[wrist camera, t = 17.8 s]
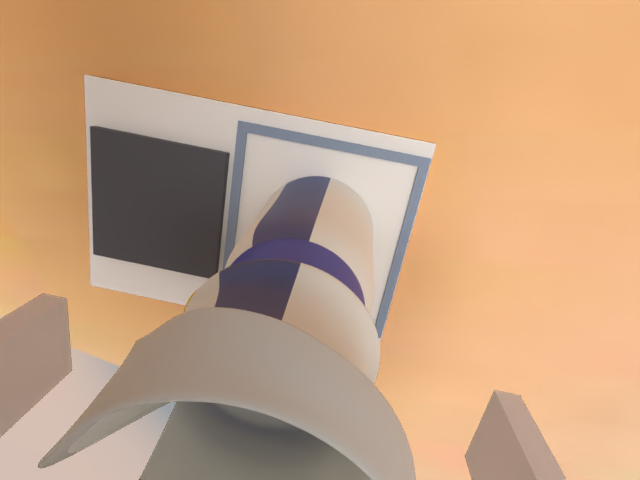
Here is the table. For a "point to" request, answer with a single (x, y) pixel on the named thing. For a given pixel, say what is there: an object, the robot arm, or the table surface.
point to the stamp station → (225, 185)
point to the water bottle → (267, 358)
